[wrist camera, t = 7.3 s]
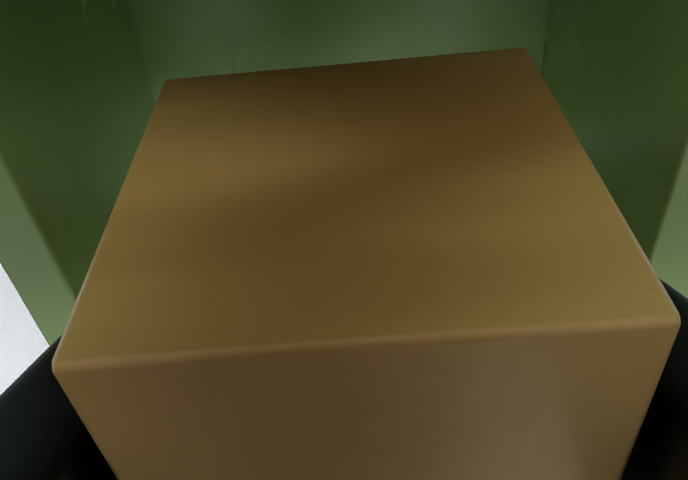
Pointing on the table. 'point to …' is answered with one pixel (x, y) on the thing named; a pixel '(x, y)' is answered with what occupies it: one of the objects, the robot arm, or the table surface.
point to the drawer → (307, 51)
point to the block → (366, 284)
